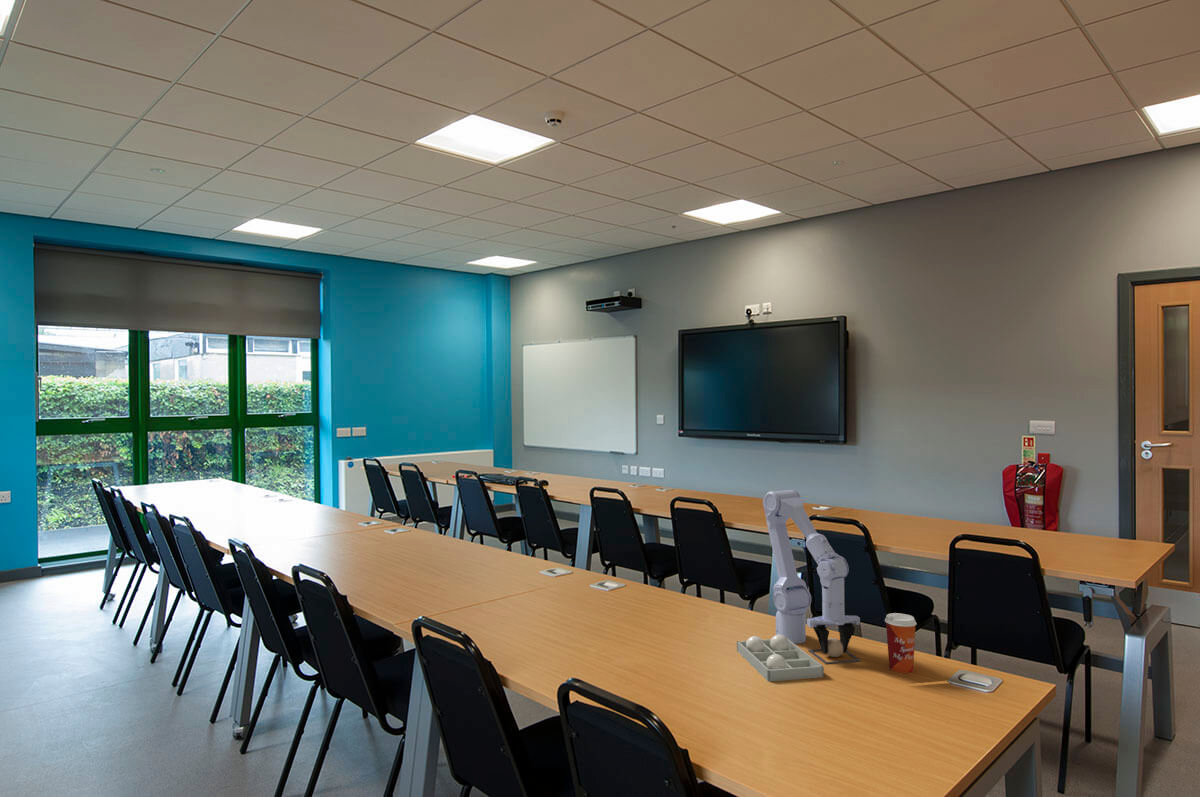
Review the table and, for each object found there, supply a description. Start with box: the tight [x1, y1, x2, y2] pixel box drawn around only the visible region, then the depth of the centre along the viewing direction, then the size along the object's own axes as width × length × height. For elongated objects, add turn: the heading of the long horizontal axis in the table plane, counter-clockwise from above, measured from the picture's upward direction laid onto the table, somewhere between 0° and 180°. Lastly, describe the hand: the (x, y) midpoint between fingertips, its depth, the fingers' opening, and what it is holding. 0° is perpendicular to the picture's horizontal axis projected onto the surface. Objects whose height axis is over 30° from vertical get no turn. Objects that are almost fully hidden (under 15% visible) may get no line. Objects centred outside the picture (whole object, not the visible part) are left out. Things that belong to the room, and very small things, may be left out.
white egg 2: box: [770, 634, 789, 651], centre depth 193 cm, size 5×5×5 cm
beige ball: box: [826, 637, 844, 658], centre depth 190 cm, size 5×5×5 cm
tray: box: [736, 638, 825, 682], centre depth 185 cm, size 22×15×3 cm
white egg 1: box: [745, 635, 764, 653], centre depth 192 cm, size 5×5×5 cm
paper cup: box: [884, 612, 918, 674], centre depth 181 cm, size 8×8×14 cm
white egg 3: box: [766, 654, 786, 670], centre depth 178 cm, size 5×5×5 cm
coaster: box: [808, 648, 862, 665], centre depth 190 cm, size 10×10×1 cm
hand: (833, 651), depth 190 cm, fingers closed on beige ball, 5 cm apart
